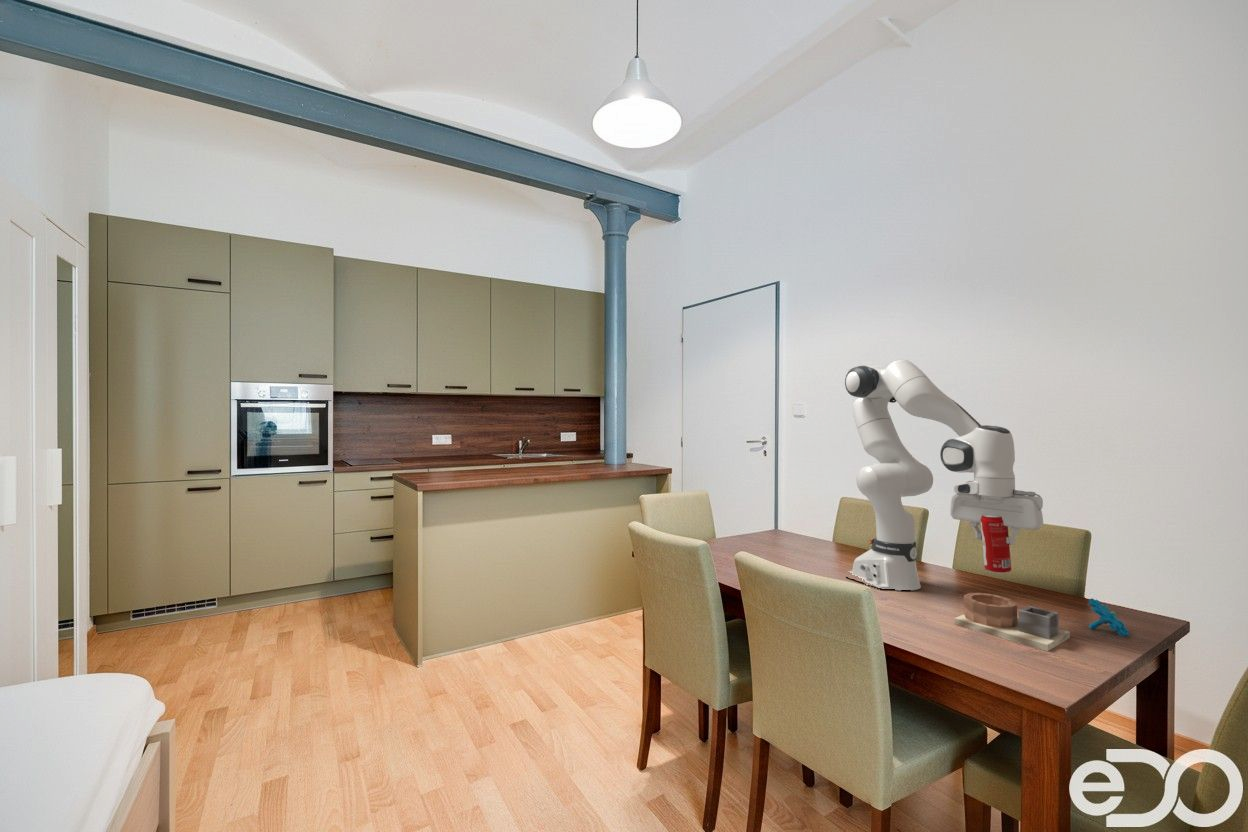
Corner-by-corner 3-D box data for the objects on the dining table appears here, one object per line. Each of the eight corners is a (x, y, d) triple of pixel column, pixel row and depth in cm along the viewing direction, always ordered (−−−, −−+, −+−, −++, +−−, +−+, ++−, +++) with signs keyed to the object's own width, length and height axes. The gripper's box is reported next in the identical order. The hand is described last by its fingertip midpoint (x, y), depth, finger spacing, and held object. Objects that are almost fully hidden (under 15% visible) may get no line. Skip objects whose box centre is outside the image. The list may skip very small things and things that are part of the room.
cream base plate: (954, 624, 140) (954, 598, 140) (978, 613, 147) (978, 589, 148) (1047, 651, 123) (1047, 622, 123) (1069, 637, 131) (1069, 610, 131)
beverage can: (1015, 570, 140) (1013, 513, 139) (1004, 576, 136) (1002, 517, 136) (989, 565, 145) (987, 510, 144) (978, 571, 141) (976, 513, 141)
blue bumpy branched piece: (1126, 636, 127) (1088, 597, 134) (1102, 648, 130) (1066, 610, 137) (1137, 631, 134) (1101, 595, 140) (1115, 643, 137) (1080, 607, 143)
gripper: (1047, 491, 134) (1048, 547, 134) (958, 483, 150) (958, 533, 150) (1037, 493, 130) (1038, 551, 130) (947, 485, 147) (947, 536, 147)
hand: (994, 541), depth 140 cm, fingers closed on beverage can, 6 cm apart
